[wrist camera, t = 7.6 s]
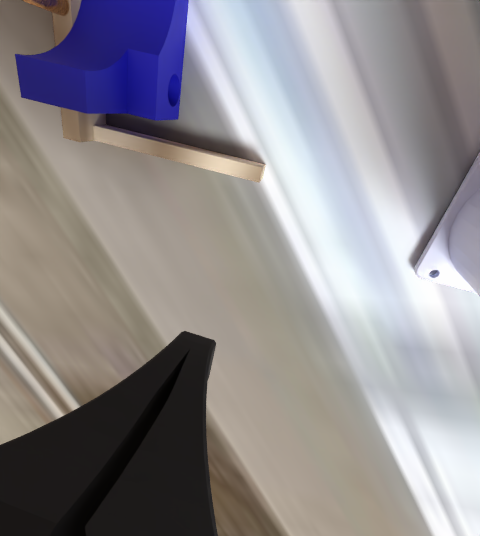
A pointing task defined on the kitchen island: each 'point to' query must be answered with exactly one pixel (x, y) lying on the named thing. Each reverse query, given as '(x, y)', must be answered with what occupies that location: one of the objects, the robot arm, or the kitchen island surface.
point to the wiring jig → (94, 128)
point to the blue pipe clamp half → (113, 60)
